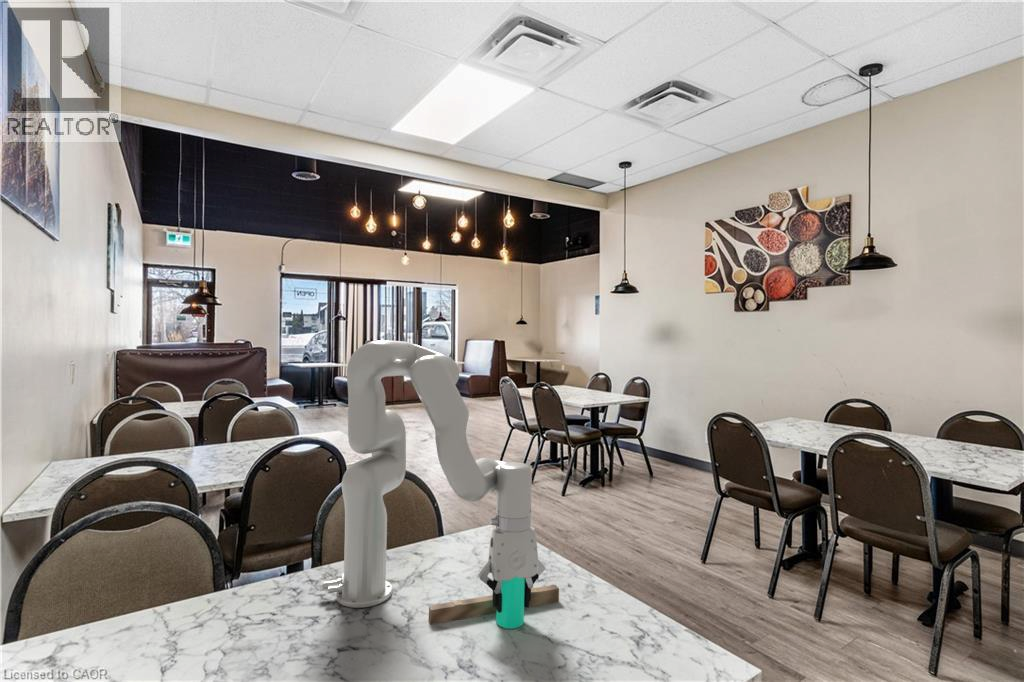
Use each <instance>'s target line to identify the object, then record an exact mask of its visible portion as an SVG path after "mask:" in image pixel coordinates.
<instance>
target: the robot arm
mask: <svg viewBox="0 0 1024 682" xmlns="http://www.w3.org/2000/svg"><path fill="white" fill-rule="evenodd" d="M396 376H399V377H400V376H404V377H407V378H410V381H411V383H412V386H413V388H414V390H415V392H416V393H417V394H416V395H417V396H418V398H419V400H420V401H421V403H422V405H423V408H424V409H425V411H426V414H427V416H428V418H429V420H430V422H431V423H432V426H433V429H434V434H435V435H434V438H435V445H436V451H437V453H436V454H437V458H438V460H439V464H440V466H441V470H442V472H443V473H444V476H445V477H446V480H447V481H448V484H449V486H450V487H451V489H452V491H453V492H454V494H455V495H456V496H457V497H458V498H459V499H460V500H462V501H464V502H467V503H476V502H479V501H481V500H482V499H484V498H485V497H486V496H488V495H489V494H491V493H496V503H495V504H496V505H495V514H494V517H493V518H490V519H489V524H490V526H494V527H493V528H492V531H491V536H490V542H489V549H488V559H487V560H488V561H487V562H486V563H485V565H484V566H483V568H482V569H481V570H480V571H479V573H478V574H477V576H478V578H479V580H480V581H482V582H483V583H484V584H485V585H487V586H488V588H489V589H491V590H492V595H493V606H494V607H495V608H496V609H497V611H498V612H499V613H500V612H502V593H500V590H501V582H502V581H508V580H512V579H513V577H519V578H522V579H523V578H525V589H524V606H525V607H526V609H527V608H530V607H529V601H531V588H533V587H534V585H535V583H536V582H537V581H538V580H539V577H540V576H541V575H542V574H543V573H544V572H545V571H546V566H545V565H544V564H543V563H542V561H541V560H539V554H538V553H539V552H538V544H537V543H538V542H537V535H536V530H535V527H534V526H532V492H533V491H532V489H533V487H532V485H533V483H532V482H533V480H532V479H533V475H532V473H533V472H532V468H531V466H530V465H529V464H527V463H525V462H517V461H510V462H509V461H503V460H502V461H501V460H498V459H495V458H491V457H480V458H478V459H475V458H474V455H473V454H472V451H471V448H470V446H469V443H468V438H467V427H468V422H469V417H470V411H469V408H468V406H467V405H466V403H465V401H464V399H463V397H462V395H461V394H460V391H459V389H458V387H457V386H456V385H457V383H458V381H459V379H460V368H459V366H458V363H456V361H455V360H454V359H453V358H452V357H450V356H448V355H446V354H442V353H440V352H437V351H435V350H431V349H430V348H429V349H428V348H426V347H423V346H420V345H418V344H415V343H412V342H409V341H404V340H403V341H402V340H399V341H398V340H388V339H386V340H385V339H383V340H382V339H380V340H372V341H369V342H367V343H365V344H363V345H361V346H359V347H358V348H357V349H355V351H354V352H353V353H352V354H351V356H350V358H349V361H348V363H347V367H346V383H347V395H348V396H347V397H348V398H347V400H348V401H347V402H348V403H347V425H348V426H347V437H348V439H347V440H348V444H349V447H350V448H351V450H352V451H353V452H355V453H356V454H360V455H361V454H362V455H367V454H371V456H370V457H369V456H368V457H367V458H363V459H361V460H358V461H356V462H354V463H353V464H351V465H350V466H349V467H348V468H347V469H346V471H345V472H344V474H343V476H342V479H341V492H342V499H343V504H344V546H343V547H344V550H343V551H344V553H343V554H344V556H343V557H344V558H343V559H344V560H343V572H342V573H341V577H337V579H335V580H331V579H330V580H324V581H322V591H328V594H335V593H336V594H335V595H336V596H335V598H336V601H337V603H338V604H340V605H341V606H343V607H348V608H352V609H353V608H355V609H359V608H360V609H361V608H369V607H374V606H376V605H379V604H381V603H383V602H385V601H387V600H388V599H389V598H390V597H391V595H392V593H393V585H392V584H391V582H389V581H388V580H386V578H387V577H386V575H387V539H388V538H387V537H388V534H387V533H388V514H387V508H386V504H385V503H384V498H383V497H384V495H385V494H387V493H389V492H392V491H393V490H395V489H397V488H398V487H399V486H400V485H401V484H402V482H403V481H404V479H405V476H406V471H407V447H406V446H407V445H406V444H407V439H406V438H407V437H406V435H407V433H406V426H405V423H404V420H403V419H402V417H401V415H400V414H399V413H398V412H396V411H394V410H392V409H386V391H385V387H384V385H383V382H382V379H383V378H385V377H396ZM489 574H491V576H492V578H490V577H489Z"/></svg>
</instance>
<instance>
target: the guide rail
mask: <svg viewBox="0 0 1024 682" xmlns="http://www.w3.org/2000/svg"><path fill="white" fill-rule="evenodd" d="M559 599H560V588H559V587H558V586H557V585H556V584H552V585H544V586H540V587H534V586H533V587H532V588H531V601H529V608H531V607H535V606H542V605H548V604H553V603H558V602H559V601H560V600H559ZM525 608H526V607H525V606H524V609H525ZM526 609H527V608H526ZM496 613H497V609H496V608H495V607H494V606H493V594H492V595H491V594H490V595H484V596H479V597H473V598H467V599H466V598H465V599H454V600H452V601H449V602H444V603H437V604H431V605H428V621H429V624H430V625H437V624H442V623H447V622H453V621H459V620H463V619H464V620H465V619H469V618H474V617H480V616H486V615H491V614H492V615H493V614H496Z"/></svg>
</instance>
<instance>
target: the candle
mask: <svg viewBox="0 0 1024 682" xmlns="http://www.w3.org/2000/svg"><path fill="white" fill-rule="evenodd" d="M524 589H525V578H523V579H522V578H519V577H513V579H512V580H508V581H502V582H501V590H500V593H502V612H500V613H499V612H498V611H497V613H495V614H496V616H495V618H496V624H497V625H498V626H499V627H501V628H504V629H516V628H519V627H521V626H522V625H523V624H524V622H525V621H524V620H525V608H524Z"/></svg>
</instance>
